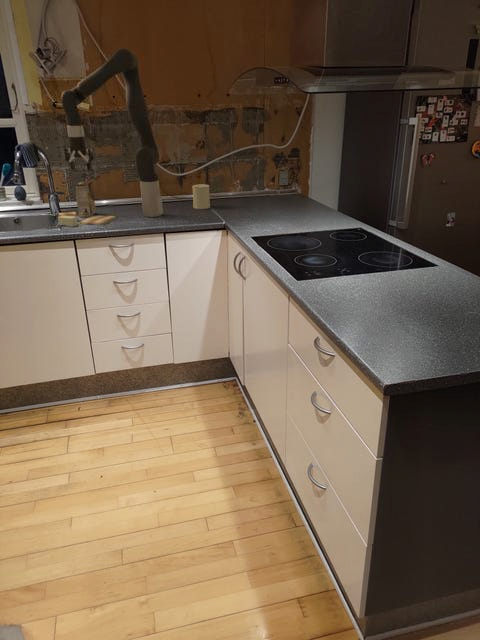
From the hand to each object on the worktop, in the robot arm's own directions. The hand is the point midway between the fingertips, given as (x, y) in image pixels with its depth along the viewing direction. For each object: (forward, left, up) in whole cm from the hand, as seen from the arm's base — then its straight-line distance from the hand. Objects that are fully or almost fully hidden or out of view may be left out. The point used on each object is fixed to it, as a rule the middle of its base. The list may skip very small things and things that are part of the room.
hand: (81, 170), depth 242 cm
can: (-54, -26, -23) cm, 64 cm away
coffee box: (0, 0, -23) cm, 23 cm away
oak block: (+3, +14, -23) cm, 27 cm away
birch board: (-12, +12, -22) cm, 28 cm away
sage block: (-1, +21, -23) cm, 31 cm away
